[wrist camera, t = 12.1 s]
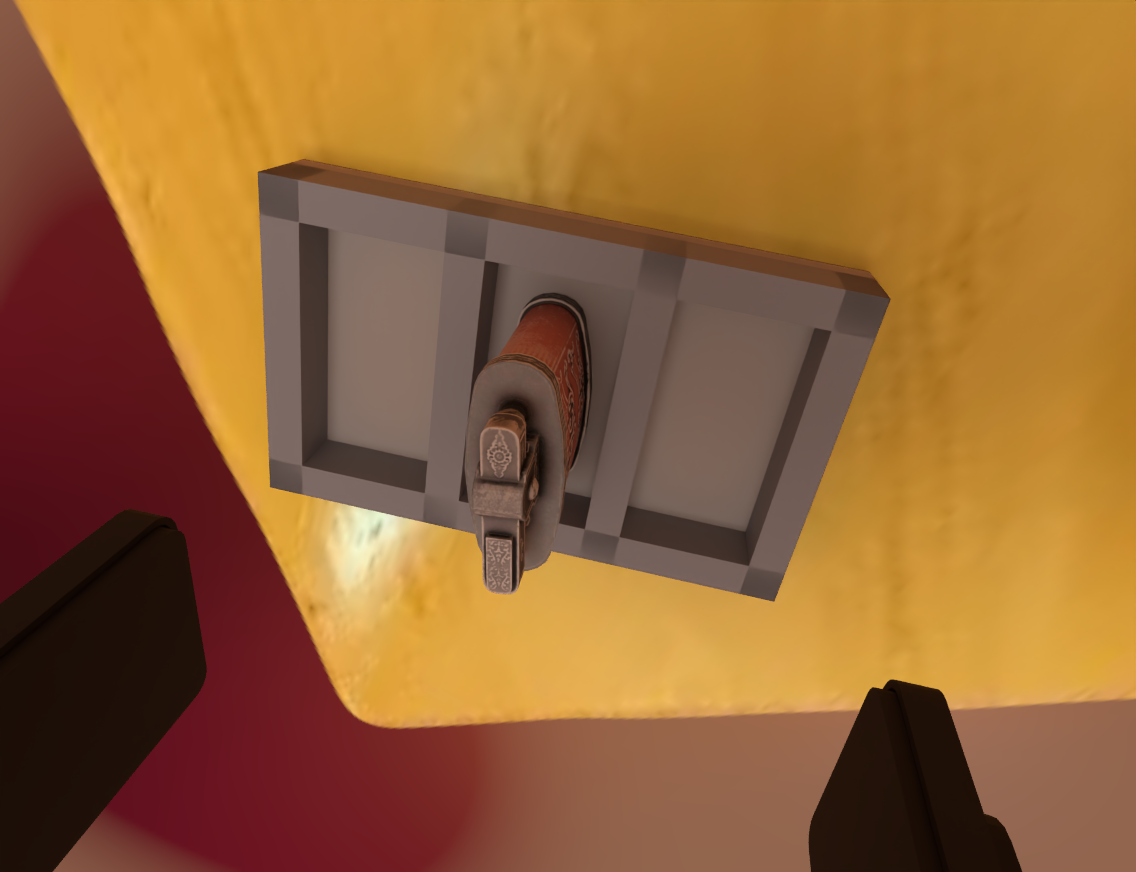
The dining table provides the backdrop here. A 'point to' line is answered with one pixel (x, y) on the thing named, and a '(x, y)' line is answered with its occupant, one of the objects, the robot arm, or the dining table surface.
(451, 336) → the tray
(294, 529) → the dining table surface
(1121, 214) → the dining table surface
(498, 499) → the lighter
